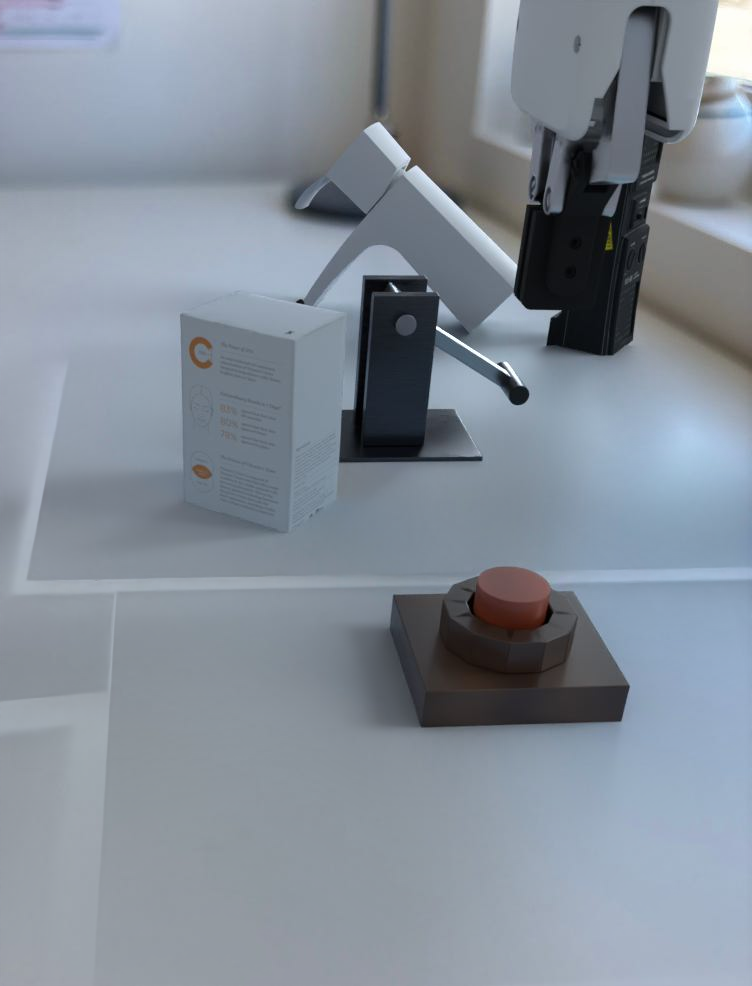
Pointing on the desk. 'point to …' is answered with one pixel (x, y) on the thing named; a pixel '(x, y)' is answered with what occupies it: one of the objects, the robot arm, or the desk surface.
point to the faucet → (414, 229)
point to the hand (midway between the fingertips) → (552, 303)
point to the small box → (262, 407)
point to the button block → (504, 664)
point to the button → (511, 598)
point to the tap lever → (480, 363)
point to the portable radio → (615, 271)
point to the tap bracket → (399, 381)
